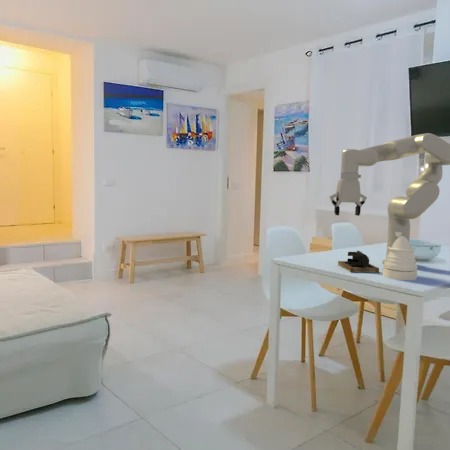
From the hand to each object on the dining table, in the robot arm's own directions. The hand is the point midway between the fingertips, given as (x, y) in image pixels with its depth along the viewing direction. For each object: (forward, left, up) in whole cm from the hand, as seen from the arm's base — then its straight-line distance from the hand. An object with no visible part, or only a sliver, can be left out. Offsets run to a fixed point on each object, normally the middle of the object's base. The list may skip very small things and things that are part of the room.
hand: (347, 215), depth 201 cm
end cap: (-3, +9, -22) cm, 24 cm away
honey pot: (-14, +24, -23) cm, 36 cm away
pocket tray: (-3, +9, -23) cm, 24 cm away
